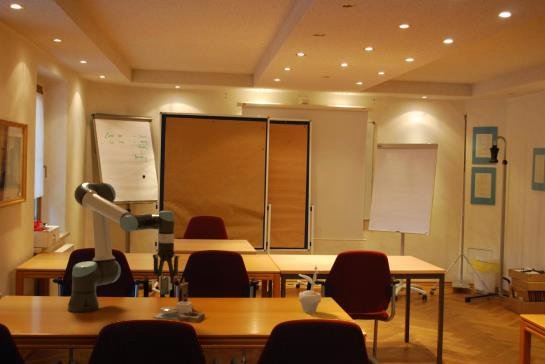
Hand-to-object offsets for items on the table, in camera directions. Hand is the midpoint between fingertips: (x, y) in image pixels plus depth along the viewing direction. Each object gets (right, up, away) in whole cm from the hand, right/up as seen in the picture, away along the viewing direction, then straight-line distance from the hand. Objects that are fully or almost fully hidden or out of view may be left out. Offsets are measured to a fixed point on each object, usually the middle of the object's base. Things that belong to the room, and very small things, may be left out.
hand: (165, 289), depth 275 cm
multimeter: (+9, -14, +17) cm, 24 cm away
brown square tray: (+13, -14, -2) cm, 19 cm away
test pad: (+2, -12, +2) cm, 12 cm away
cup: (+8, -14, +4) cm, 17 cm away
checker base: (+2, -14, +2) cm, 14 cm away
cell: (0, -2, 0) cm, 2 cm away
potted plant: (+72, -16, +20) cm, 77 cm away
